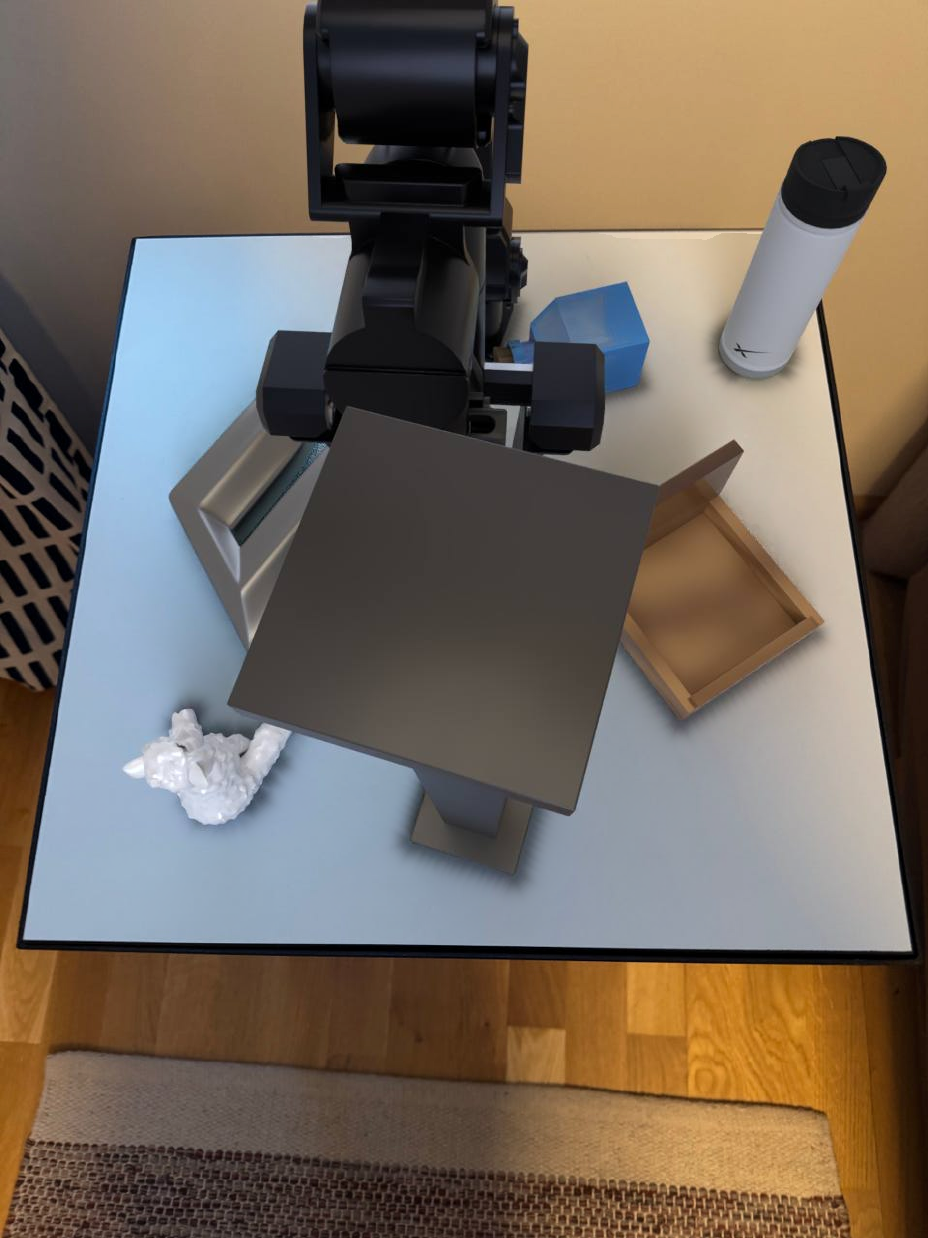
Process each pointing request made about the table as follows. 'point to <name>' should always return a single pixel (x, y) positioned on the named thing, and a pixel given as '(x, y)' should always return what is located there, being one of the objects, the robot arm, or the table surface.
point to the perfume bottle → (590, 332)
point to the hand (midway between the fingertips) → (439, 484)
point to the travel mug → (800, 251)
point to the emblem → (245, 513)
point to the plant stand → (452, 622)
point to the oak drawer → (708, 593)
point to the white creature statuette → (209, 766)
